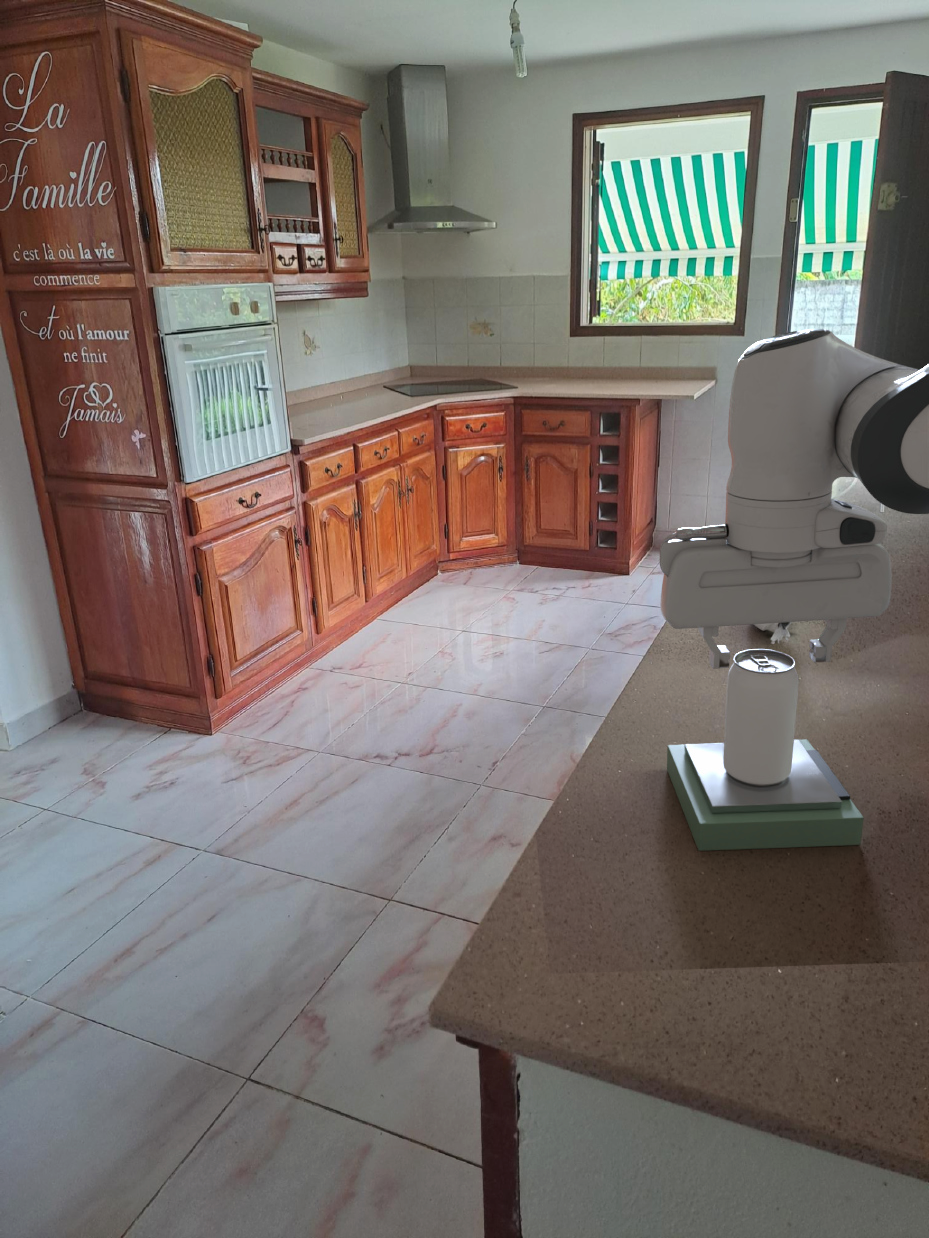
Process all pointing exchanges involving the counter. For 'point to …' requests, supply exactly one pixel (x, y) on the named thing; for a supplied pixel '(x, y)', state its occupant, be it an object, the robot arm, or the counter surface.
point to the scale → (763, 815)
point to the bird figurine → (776, 630)
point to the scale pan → (732, 796)
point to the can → (760, 717)
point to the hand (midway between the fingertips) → (769, 663)
